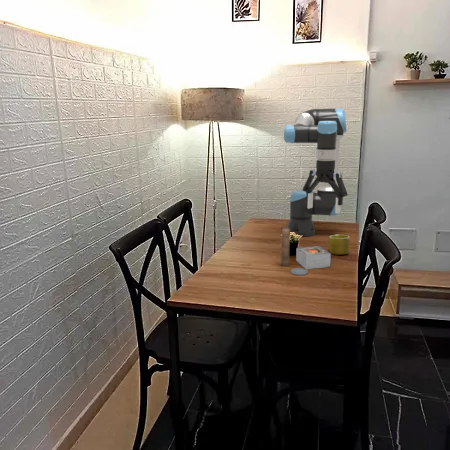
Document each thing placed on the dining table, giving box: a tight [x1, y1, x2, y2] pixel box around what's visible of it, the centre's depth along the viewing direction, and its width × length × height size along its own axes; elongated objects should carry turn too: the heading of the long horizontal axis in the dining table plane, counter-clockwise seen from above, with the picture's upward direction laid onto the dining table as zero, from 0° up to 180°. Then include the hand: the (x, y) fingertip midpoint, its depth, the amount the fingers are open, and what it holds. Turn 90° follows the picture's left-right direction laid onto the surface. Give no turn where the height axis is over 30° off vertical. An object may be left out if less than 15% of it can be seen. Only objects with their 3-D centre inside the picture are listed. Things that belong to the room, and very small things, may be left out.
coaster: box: [290, 267, 309, 277], centre depth 180 cm, size 7×7×1 cm
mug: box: [328, 233, 351, 256], centre depth 203 cm, size 12×10×10 cm
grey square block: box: [295, 245, 332, 270], centre depth 189 cm, size 11×11×6 cm
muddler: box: [280, 227, 291, 267], centre depth 187 cm, size 3×3×16 cm
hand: (323, 210), depth 184 cm, fingers open, 13 cm apart
